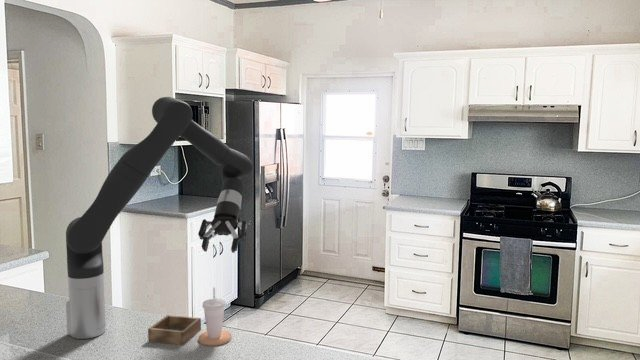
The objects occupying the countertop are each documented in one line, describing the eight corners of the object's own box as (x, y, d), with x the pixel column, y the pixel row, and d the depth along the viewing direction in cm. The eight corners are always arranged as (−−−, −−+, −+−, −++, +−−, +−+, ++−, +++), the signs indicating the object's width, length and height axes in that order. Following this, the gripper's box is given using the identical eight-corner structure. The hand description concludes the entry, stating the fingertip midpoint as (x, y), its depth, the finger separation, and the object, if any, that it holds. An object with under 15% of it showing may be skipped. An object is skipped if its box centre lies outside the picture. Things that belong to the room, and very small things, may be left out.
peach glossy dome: (192, 344, 137) (192, 341, 136) (207, 331, 145) (207, 328, 145) (223, 347, 135) (223, 344, 135) (236, 333, 143) (236, 331, 143)
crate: (148, 341, 138) (148, 328, 138) (167, 326, 149) (167, 315, 148) (183, 344, 136) (183, 332, 136) (200, 329, 146) (200, 318, 146)
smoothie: (203, 341, 136) (202, 291, 135) (202, 332, 142) (201, 284, 141) (227, 339, 138) (226, 289, 137) (225, 330, 144) (224, 282, 143)
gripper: (204, 199, 158) (192, 243, 147) (248, 200, 157) (240, 244, 146) (209, 213, 164) (198, 256, 153) (252, 214, 162) (244, 258, 152)
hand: (218, 250), depth 150 cm, fingers open, 8 cm apart
